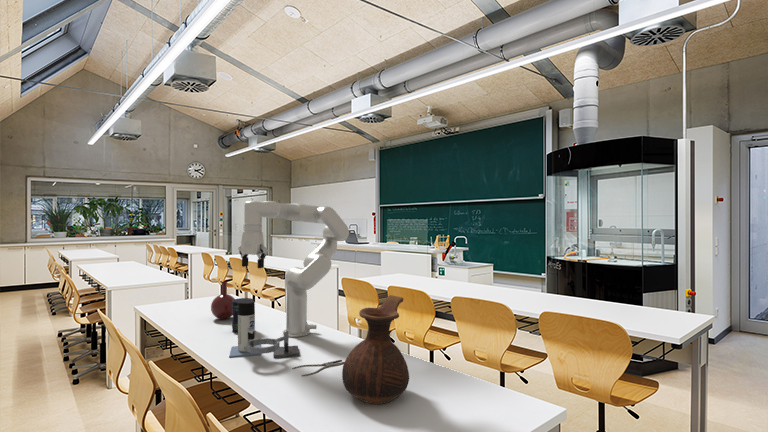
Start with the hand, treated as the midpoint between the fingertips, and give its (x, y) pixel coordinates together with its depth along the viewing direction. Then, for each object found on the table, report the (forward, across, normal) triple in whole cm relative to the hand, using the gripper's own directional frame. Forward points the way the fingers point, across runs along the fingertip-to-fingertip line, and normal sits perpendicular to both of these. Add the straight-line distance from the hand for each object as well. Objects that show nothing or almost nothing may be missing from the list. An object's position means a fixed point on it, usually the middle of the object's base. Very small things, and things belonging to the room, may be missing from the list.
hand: (252, 267), depth 184 cm
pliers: (+34, +44, -8) cm, 56 cm away
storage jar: (+34, -17, +10) cm, 39 cm away
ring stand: (+33, +23, -11) cm, 42 cm away
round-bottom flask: (+34, -43, +20) cm, 58 cm away
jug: (+34, +75, -18) cm, 84 cm away
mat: (+33, +8, -11) cm, 36 cm away
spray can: (+33, +8, -10) cm, 35 cm away
